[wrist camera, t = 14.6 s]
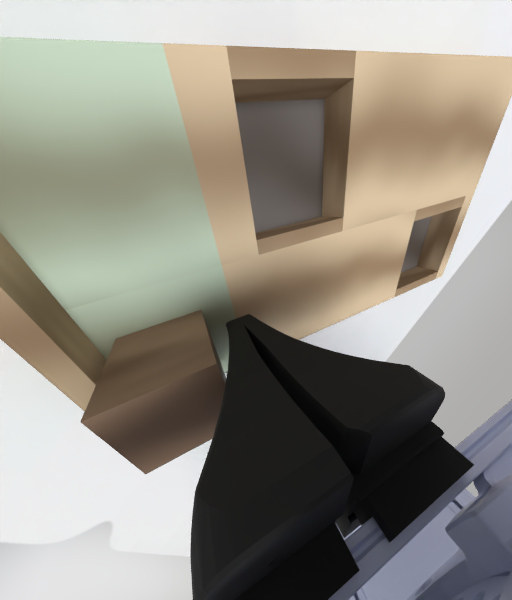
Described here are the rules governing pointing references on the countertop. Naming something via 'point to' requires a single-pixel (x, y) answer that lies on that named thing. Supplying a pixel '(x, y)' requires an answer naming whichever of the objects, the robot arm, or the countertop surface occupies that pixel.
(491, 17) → the countertop surface
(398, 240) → the wooden board
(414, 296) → the countertop surface
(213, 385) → the block
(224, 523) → the robot arm
